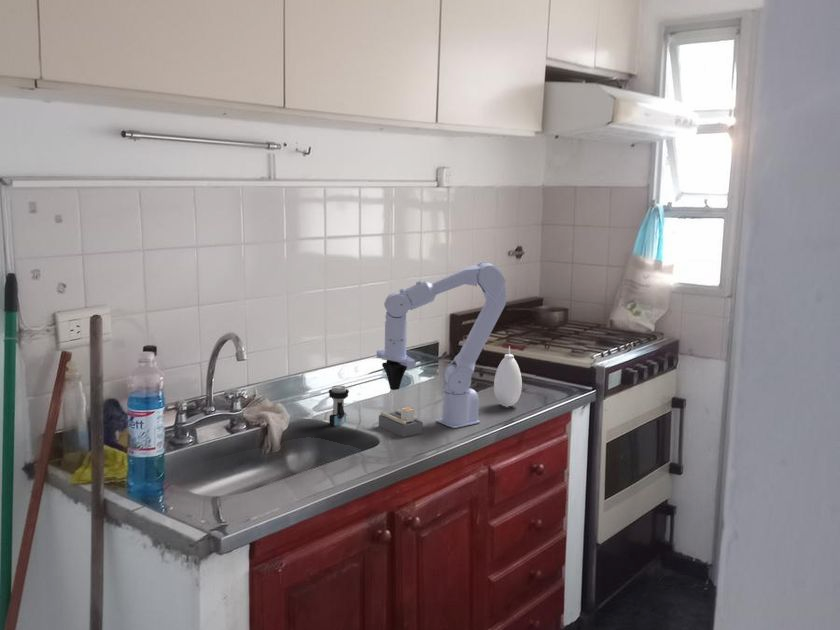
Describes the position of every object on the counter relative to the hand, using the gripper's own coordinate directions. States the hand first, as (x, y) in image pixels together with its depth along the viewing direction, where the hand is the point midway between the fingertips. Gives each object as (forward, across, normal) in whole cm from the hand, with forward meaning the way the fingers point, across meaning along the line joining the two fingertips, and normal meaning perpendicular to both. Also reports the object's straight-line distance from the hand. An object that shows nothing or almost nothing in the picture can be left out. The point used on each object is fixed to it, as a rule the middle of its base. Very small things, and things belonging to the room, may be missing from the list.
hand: (394, 389), depth 216 cm
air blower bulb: (+10, +5, +37) cm, 39 cm away
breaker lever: (+6, +9, -2) cm, 11 cm away
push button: (+10, -8, -12) cm, 17 cm away
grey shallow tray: (+9, +6, -2) cm, 11 cm away
